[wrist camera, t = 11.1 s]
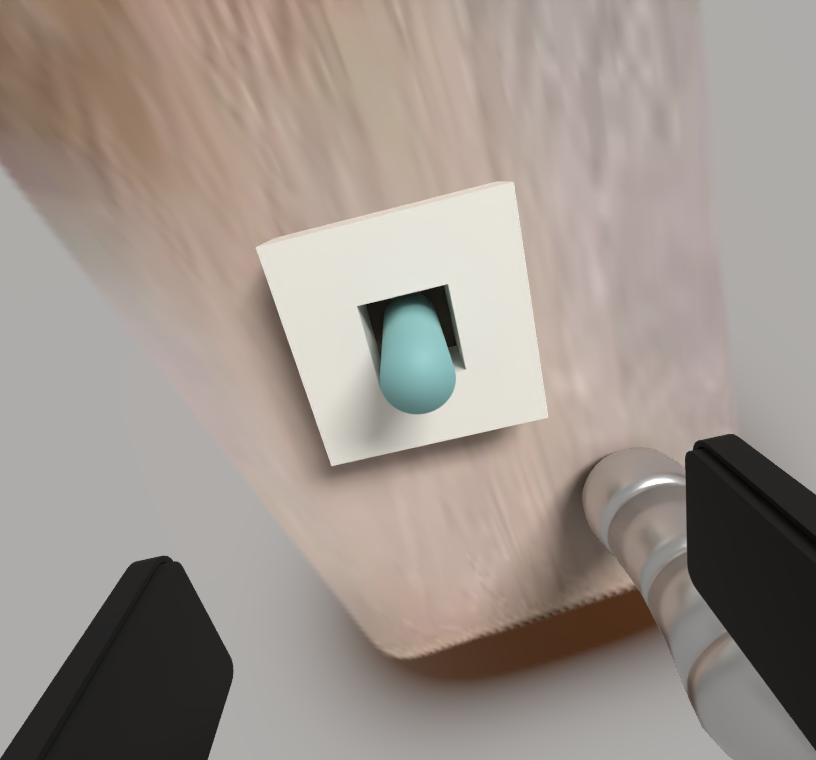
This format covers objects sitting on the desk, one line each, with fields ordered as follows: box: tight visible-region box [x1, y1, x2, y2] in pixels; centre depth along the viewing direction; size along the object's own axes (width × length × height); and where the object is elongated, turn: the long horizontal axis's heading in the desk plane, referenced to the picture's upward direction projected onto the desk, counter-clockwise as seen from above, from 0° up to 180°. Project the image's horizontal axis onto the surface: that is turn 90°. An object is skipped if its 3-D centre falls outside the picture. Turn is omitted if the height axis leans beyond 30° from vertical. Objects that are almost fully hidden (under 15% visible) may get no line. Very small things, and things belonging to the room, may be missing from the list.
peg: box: [380, 292, 456, 414], centre depth 24 cm, size 3×3×10 cm
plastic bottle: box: [582, 448, 816, 760], centre depth 24 cm, size 6×7×20 cm
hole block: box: [256, 182, 548, 466], centre depth 26 cm, size 12×12×4 cm
